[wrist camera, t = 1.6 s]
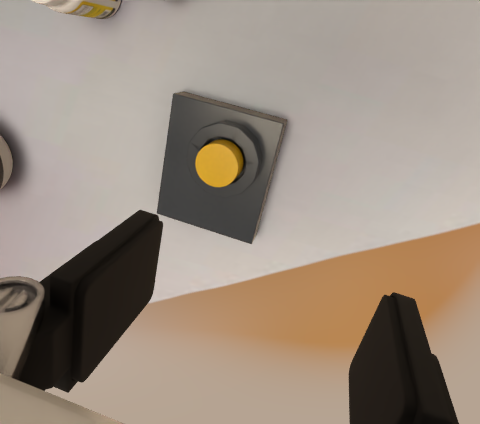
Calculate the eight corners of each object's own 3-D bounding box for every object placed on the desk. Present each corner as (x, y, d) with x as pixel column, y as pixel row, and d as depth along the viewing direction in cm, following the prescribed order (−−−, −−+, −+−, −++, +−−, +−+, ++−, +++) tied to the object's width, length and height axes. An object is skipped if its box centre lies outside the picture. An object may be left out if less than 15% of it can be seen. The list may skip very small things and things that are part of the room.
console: (183, 91, 38) (164, 94, 34) (287, 119, 36) (280, 126, 32) (166, 205, 43) (147, 220, 39) (256, 234, 42) (247, 253, 37)
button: (206, 134, 34) (199, 138, 33) (247, 145, 34) (242, 150, 32) (199, 174, 36) (191, 180, 34) (238, 186, 35) (232, 192, 34)
